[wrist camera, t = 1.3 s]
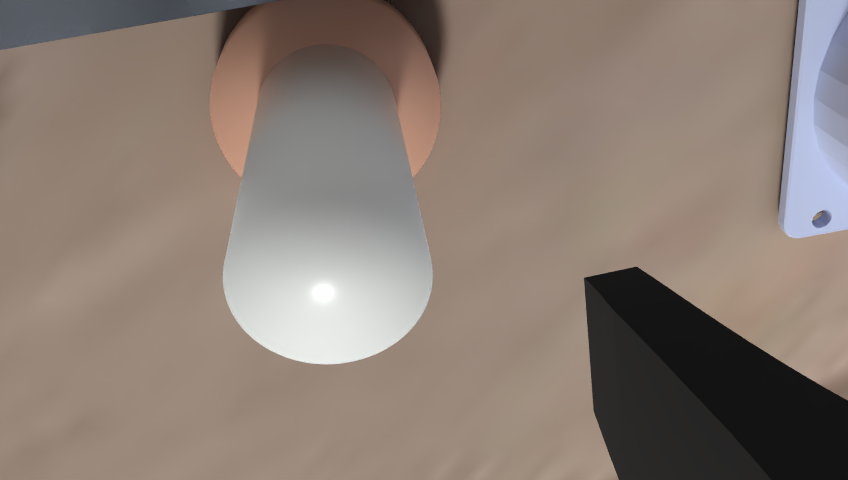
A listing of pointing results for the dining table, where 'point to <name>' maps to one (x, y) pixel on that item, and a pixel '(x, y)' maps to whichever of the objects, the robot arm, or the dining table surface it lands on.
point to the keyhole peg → (326, 175)
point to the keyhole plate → (94, 16)
